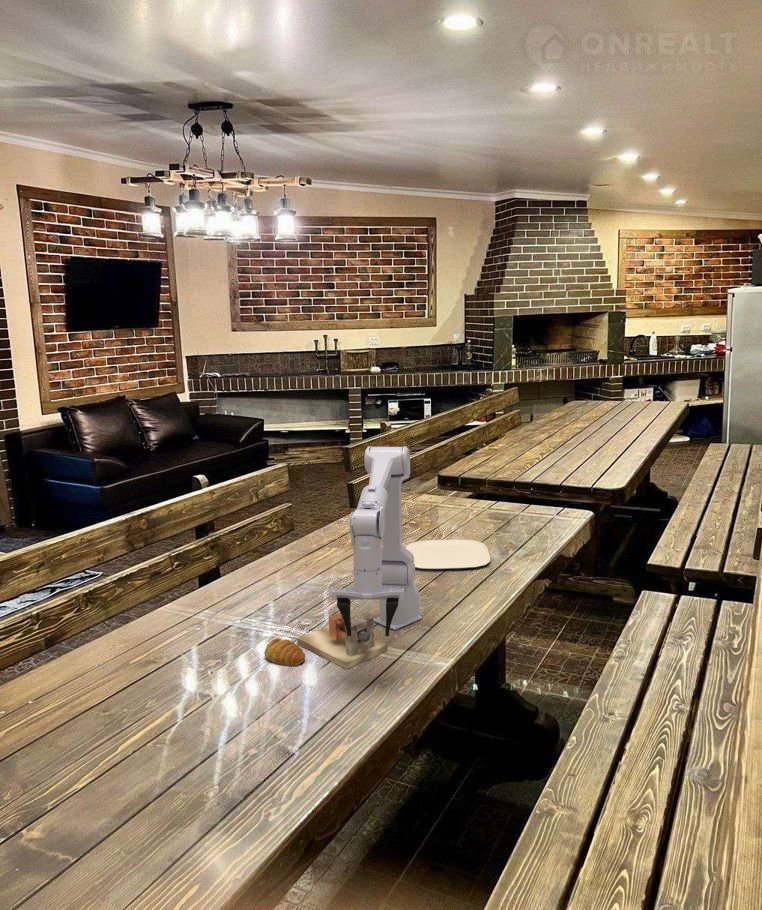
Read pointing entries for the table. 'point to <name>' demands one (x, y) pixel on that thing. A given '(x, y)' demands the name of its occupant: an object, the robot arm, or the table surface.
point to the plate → (449, 554)
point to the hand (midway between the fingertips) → (368, 634)
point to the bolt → (343, 629)
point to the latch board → (344, 644)
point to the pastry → (284, 653)
